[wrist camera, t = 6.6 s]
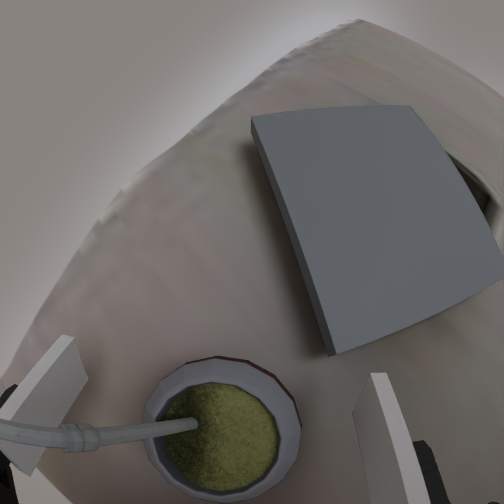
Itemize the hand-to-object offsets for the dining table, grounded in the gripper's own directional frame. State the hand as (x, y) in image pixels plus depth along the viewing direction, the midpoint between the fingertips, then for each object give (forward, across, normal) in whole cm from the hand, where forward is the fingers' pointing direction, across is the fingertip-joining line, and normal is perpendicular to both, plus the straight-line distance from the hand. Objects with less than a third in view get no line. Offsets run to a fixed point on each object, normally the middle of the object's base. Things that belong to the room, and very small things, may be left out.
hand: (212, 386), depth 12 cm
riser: (+14, +10, +5) cm, 18 cm away
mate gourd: (+3, 0, -6) cm, 7 cm away
